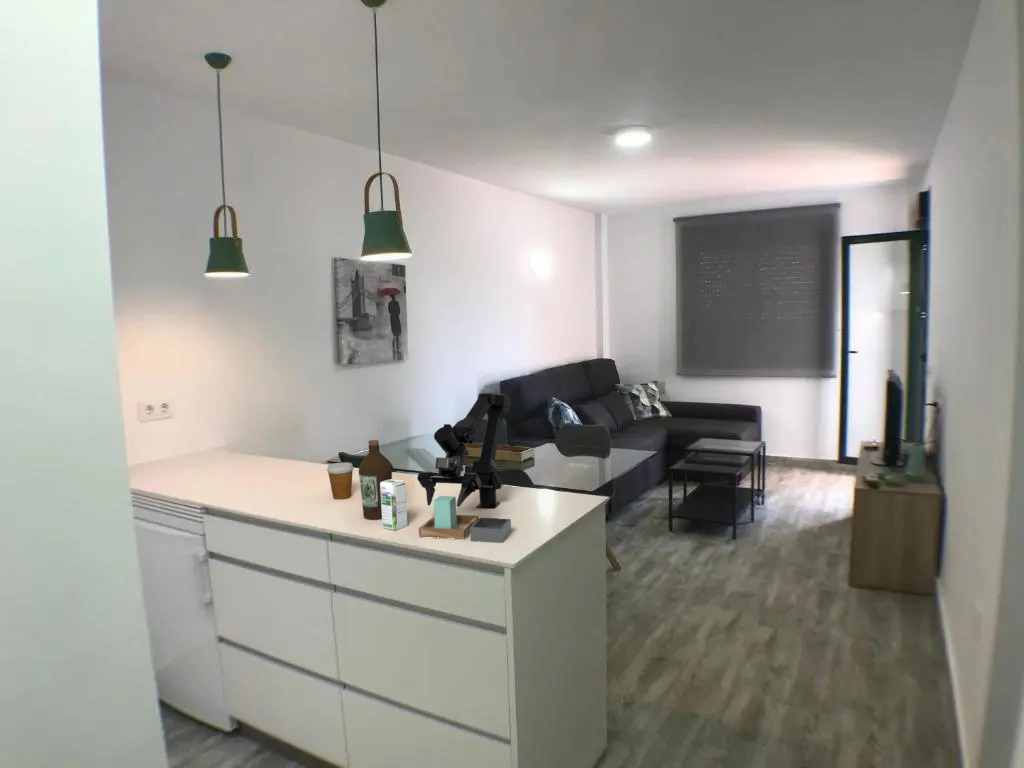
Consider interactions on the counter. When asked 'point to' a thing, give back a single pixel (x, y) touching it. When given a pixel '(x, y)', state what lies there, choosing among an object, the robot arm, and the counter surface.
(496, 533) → the holder
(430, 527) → the tray
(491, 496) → the robot arm
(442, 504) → the block
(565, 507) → the counter surface
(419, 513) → the counter surface
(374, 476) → the olive oil
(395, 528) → the syrup box
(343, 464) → the disposable coffee cup
